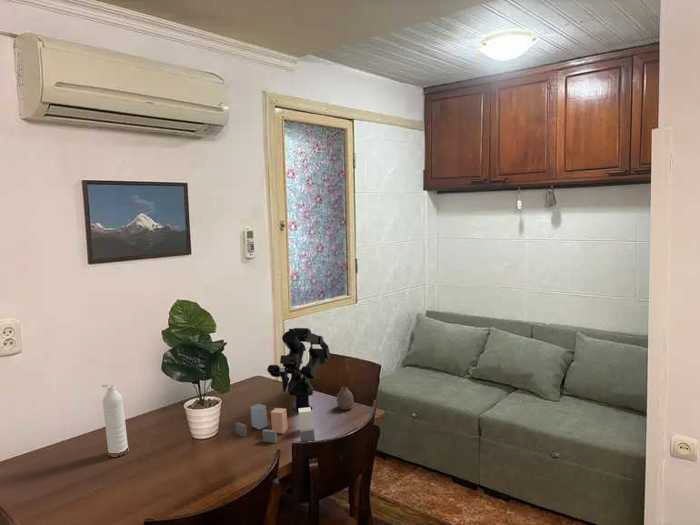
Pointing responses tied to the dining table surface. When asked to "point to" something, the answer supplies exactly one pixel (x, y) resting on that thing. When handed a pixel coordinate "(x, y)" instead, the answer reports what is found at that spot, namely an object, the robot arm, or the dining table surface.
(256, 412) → the gray rectangular block
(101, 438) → the dining table surface
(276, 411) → the salmon rectangular block
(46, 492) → the dining table surface
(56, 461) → the dining table surface
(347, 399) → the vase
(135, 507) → the dining table surface
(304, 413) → the cream rectangular block
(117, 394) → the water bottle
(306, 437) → the block
